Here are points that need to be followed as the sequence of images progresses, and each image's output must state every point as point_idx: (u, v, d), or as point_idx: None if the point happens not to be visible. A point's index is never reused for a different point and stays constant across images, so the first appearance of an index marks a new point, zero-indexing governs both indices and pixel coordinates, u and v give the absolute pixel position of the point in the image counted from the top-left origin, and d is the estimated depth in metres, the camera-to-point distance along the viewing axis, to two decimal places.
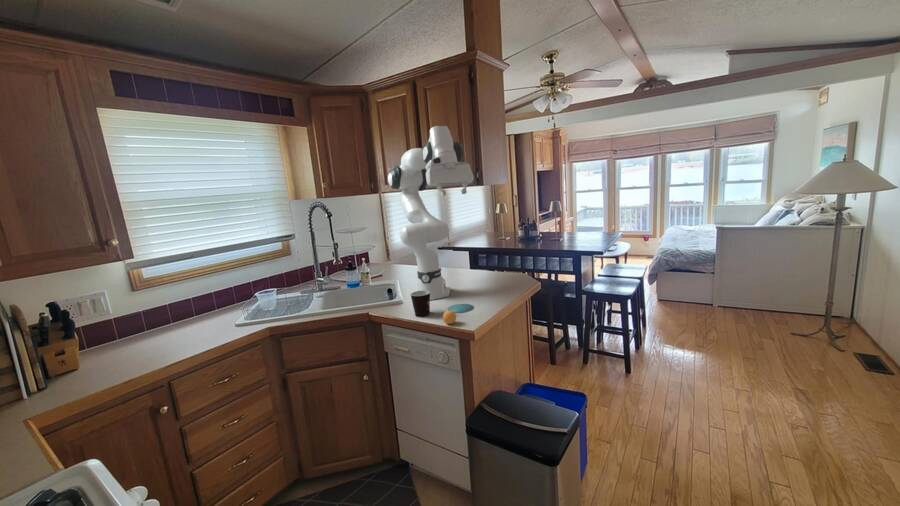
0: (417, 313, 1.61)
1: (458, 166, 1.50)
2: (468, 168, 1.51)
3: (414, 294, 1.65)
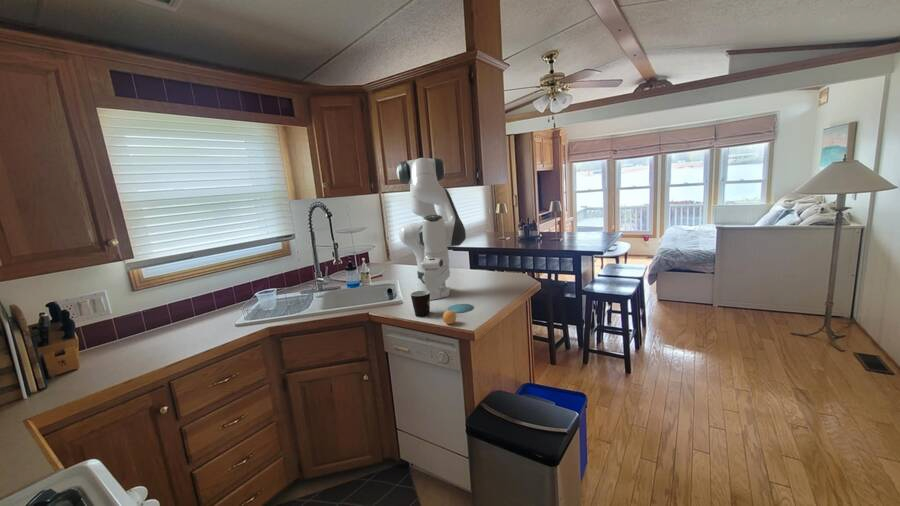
0: (417, 313, 1.61)
1: None
2: (448, 264, 1.44)
3: (414, 294, 1.65)
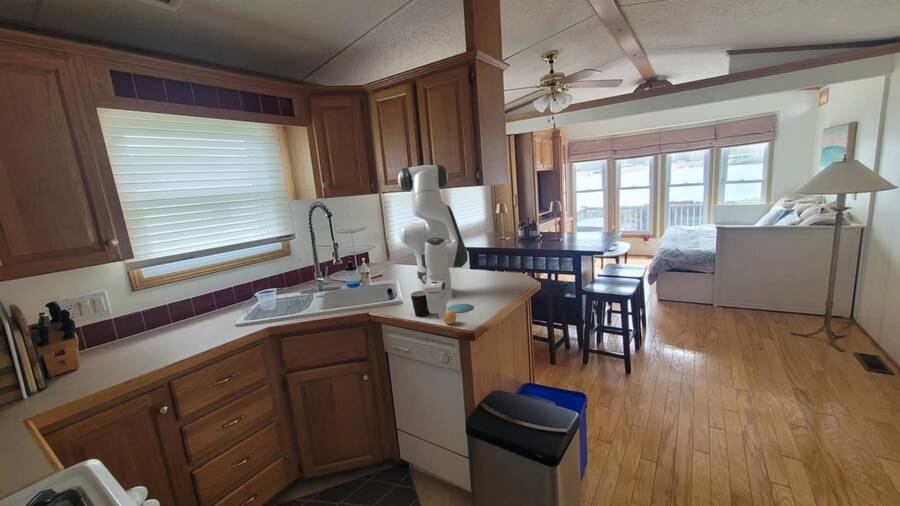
0: (417, 313, 1.61)
1: None
2: (450, 285, 1.45)
3: (414, 294, 1.65)
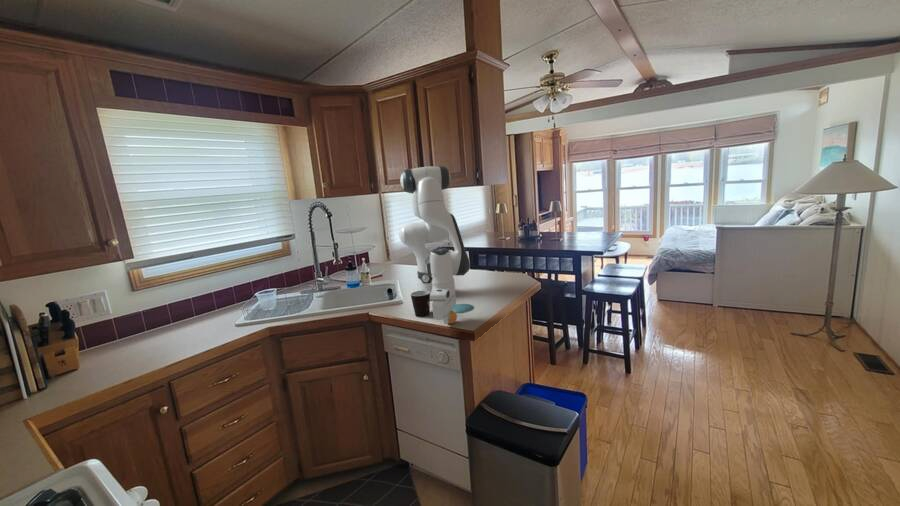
0: (417, 313, 1.61)
1: None
2: None
3: (414, 294, 1.65)
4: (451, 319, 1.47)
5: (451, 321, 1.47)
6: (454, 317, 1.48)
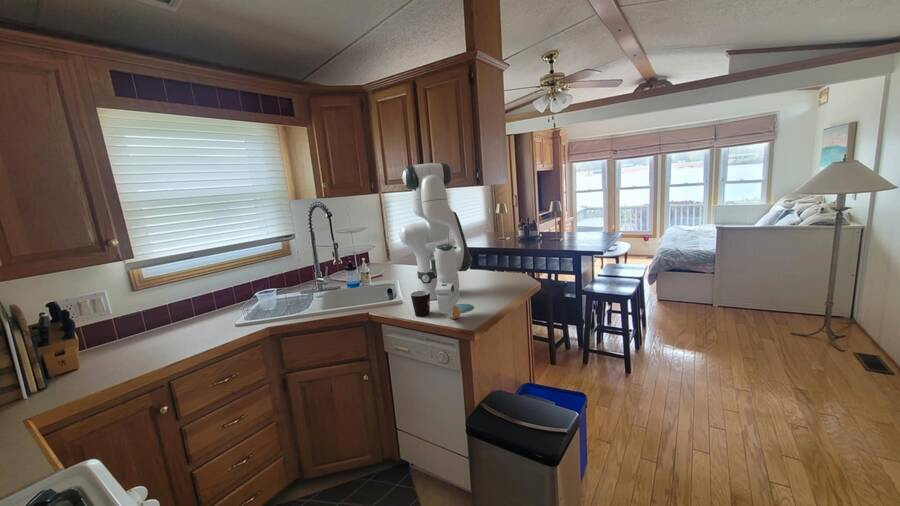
0: (417, 313, 1.61)
1: None
2: (458, 288, 1.57)
3: (414, 294, 1.65)
4: (455, 310, 1.52)
5: (455, 312, 1.52)
6: (458, 310, 1.53)
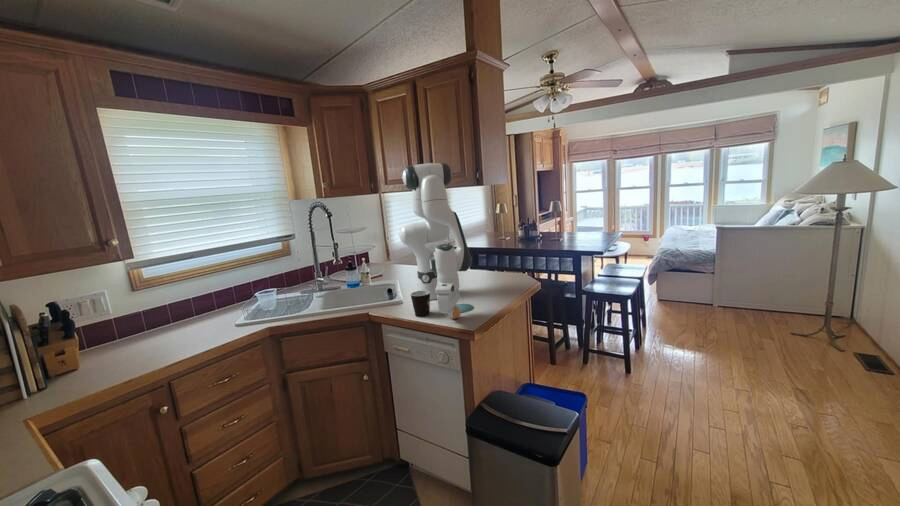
0: (417, 313, 1.61)
1: None
2: (458, 288, 1.57)
3: (414, 294, 1.65)
4: (455, 310, 1.52)
5: (455, 312, 1.52)
6: (458, 310, 1.53)
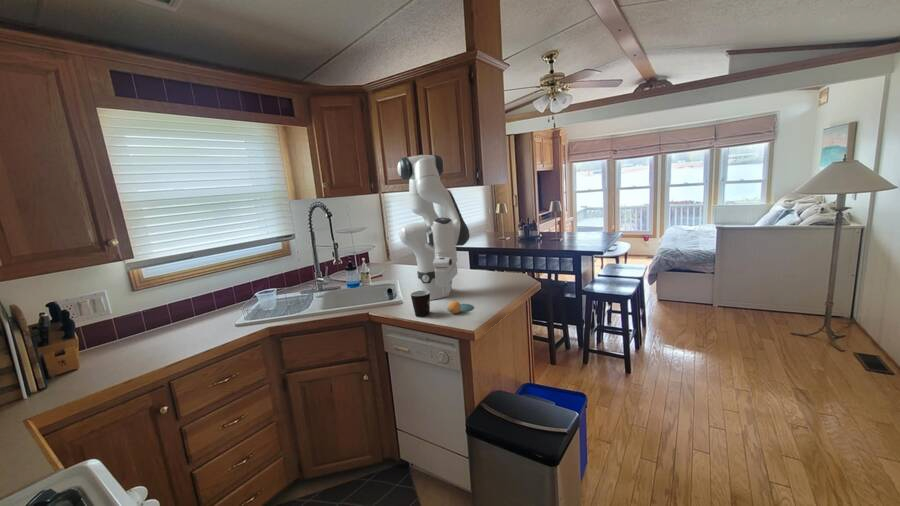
0: (417, 313, 1.61)
1: None
2: (455, 262, 1.56)
3: (414, 294, 1.65)
4: None
5: None
6: None
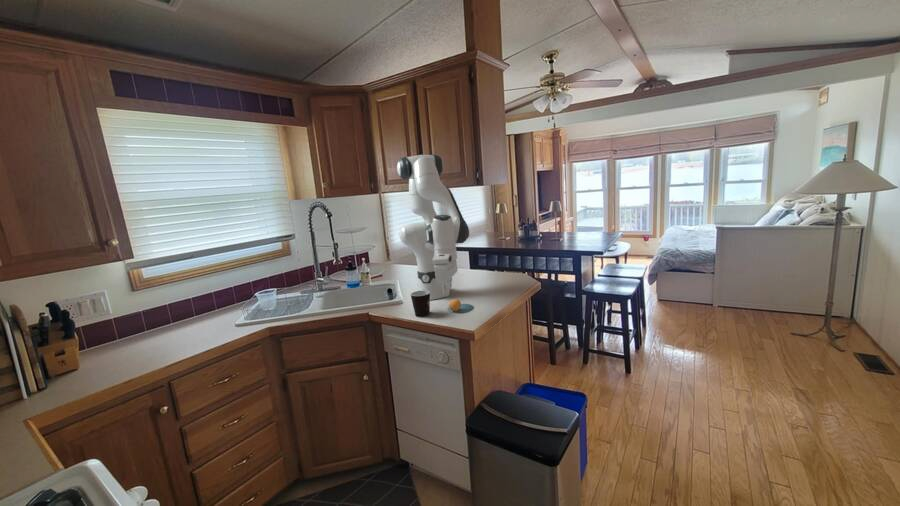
0: (417, 313, 1.61)
1: None
2: (455, 260, 1.56)
3: (414, 294, 1.65)
4: None
5: None
6: None
